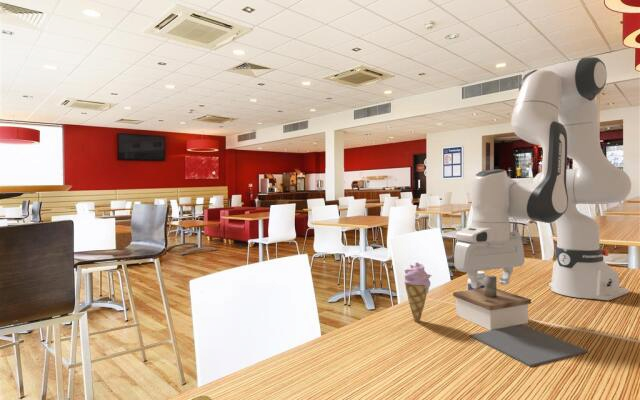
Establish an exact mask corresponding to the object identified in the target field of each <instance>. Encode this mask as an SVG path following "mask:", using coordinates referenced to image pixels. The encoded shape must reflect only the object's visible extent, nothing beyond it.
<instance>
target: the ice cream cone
mask: <svg viewBox="0 0 640 400" xmlns="http://www.w3.org/2000/svg"><path fill="white" fill-rule="evenodd" d="M409 267H410V268H409V269H404V273H405V274H404V281H403V282H404V285H405V292H406V295H407V299H408V304H409V307H410V311H411V314H412V317H413V320H414V322H415V323H419V322H420V321H421V318H422V314H423V310H424V307H425V303H426V298H427V295H428V293H429V289H430V287H431V281H430V278H431V277H432V274H430V273H427V272H426V270H425V266H424V264H422V263H419V262H417V261H416V262H415V265H413V264H410V266H409Z"/></svg>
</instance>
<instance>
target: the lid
mask: <svg viewBox="0 0 640 400" xmlns="http://www.w3.org/2000/svg"><path fill="white" fill-rule="evenodd" d="M484 279H485V288H480V289H473V290H468V289H467V290H461V291H455V292H454V291H453V293H452V295H453V297H454V298H456V297H457V298H459V299H462V300H464V301H467V302H470V303H472V304H475V305H477V306H480V307H482V308H485V309H488V310H490V311H491V310H497V309H502V308H508V307H514V306H520V305H525V304H528V305H529V304H530V305H531V304H532V299H531V298H530V299H529V298H528V297H524V296H521V295H518V294H515V293H511V292H508V291H505V290H501V289H498V288H497V276H496V275H485V278H484Z"/></svg>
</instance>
